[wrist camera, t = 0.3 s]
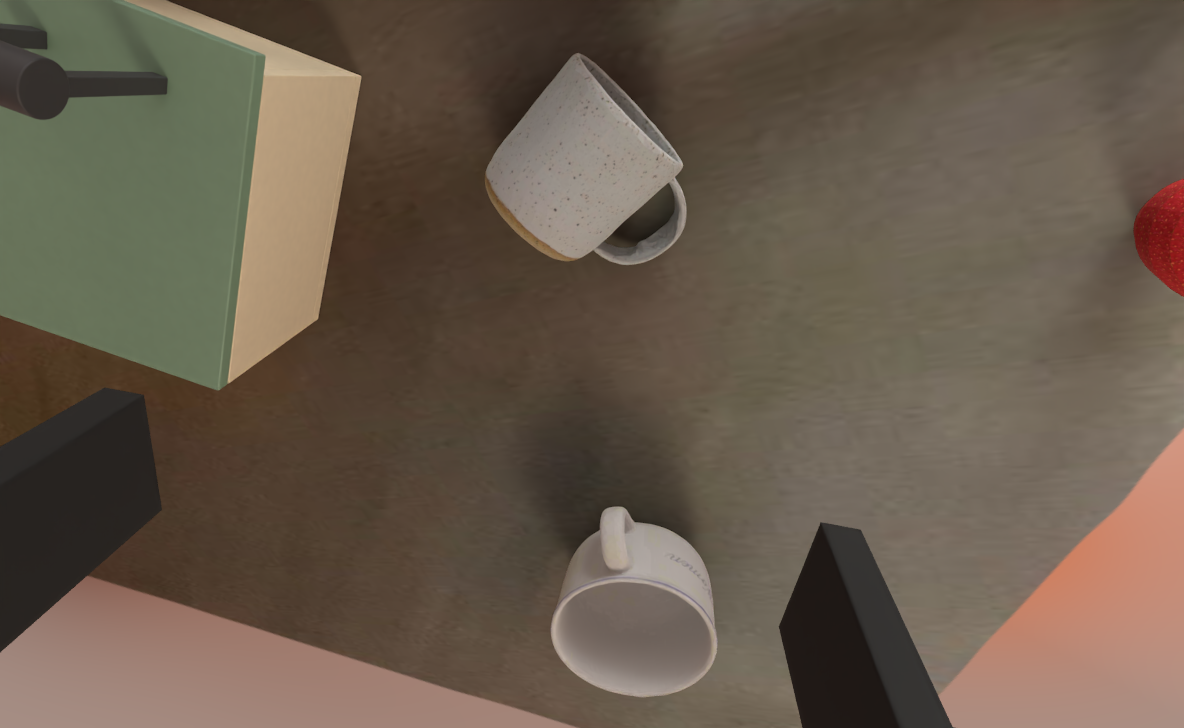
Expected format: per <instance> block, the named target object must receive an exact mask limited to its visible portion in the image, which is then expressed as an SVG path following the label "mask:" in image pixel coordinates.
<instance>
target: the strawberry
mask: <svg viewBox="0 0 1184 728" xmlns="http://www.w3.org/2000/svg"><path fill="white" fill-rule="evenodd" d="M1133 231H1134V238H1135V244H1136V249H1137V251H1138V254H1139V257H1140V259H1141V260H1142V262H1143V263H1144V264H1145V266H1146V267H1147V268H1148V269H1149V270H1150V271H1151V272H1152V273H1153V274H1154V275H1156V276H1157V277H1158V278H1159V279H1160V280H1161V281H1162V282H1163V283H1165V284H1166V285H1167V286H1168V287H1169V288H1170V289H1171V290H1173V291H1175V292H1176V293H1178V294H1180V295H1181V296H1183V297H1184V179H1182V180H1179V181H1176V182H1174V183H1172V184H1170V185H1168V186H1167V187H1165V188H1163V189H1162V190H1160V191H1159V192H1158V193H1157V194H1156V195H1154V196H1153V197H1152V198H1151V199H1150V200H1149V201H1148V202H1147V203H1146V204H1145V205H1144V206H1143V207H1142V208H1141V210H1140V211H1139V213H1138V215H1137V216H1136V219H1135V222H1134V230H1133Z"/></svg>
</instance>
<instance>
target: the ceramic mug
mask: <svg viewBox="0 0 1184 728" xmlns="http://www.w3.org/2000/svg"><path fill="white" fill-rule="evenodd" d="M682 168H683V163H682V161H681V159H680V158H679V156H678V155H677V153H676V152H675V150H674V149H673V148H672V146H671V145H670V143H669V142H668V141H667V140H666V139H665V137H664V136H663V135H662V133H661V132H660V131H659V130H658V129H657V127H656V126H655V125H654V124H653V123H652V122H651V121H650V120H649V119H648V118H647V116H646V115H645V114H644V113H643V111H642V110H641V109H640V108H639V107H638V106H637V105H636V104H635V103H634V102H633V101H632V99H631V98H630V97H629V96H628V95H627V94H626V93H625V91H623V90H622V89H621V88H620V87H619V86H618V85H617V84H616V83H615V82H614V81H613V80H612V79H611V78H610V77H609V76H608V75H607V74H606V73H605V72H604V71H603V70H602V69H600V68H599V67H598V66H597V65H596V64H595V63H594V62H592V61H591V60H590V59H589V58H588V57H585V56H584V55H582V54H579V53H576V54H574V55H573V56H571V58H570V59H569V60H568V61H567V63H566V64H565V65H564V66H563V68H562V69H561V70H560V72H559V73H558V74H557V75H556V77H555V78H554V79H553V80H552V82H551V83H550V84H549V85H548V86H547V87H546V89H545V90H544V91H543V92H542V94H541V95H540V96H539V97H538V99H537V100H536V101H535V102H534V104H533V105H532V106H531V108H530V109H529V110H528V112H527V113H526V114H525V115H524V117H523V118H522V119H521V121H520V122H519V123H518V124H517V126H516V127H515V128H514V129H513V130H512V131H511V133H510V134H509V135H508V136H507V137H506V139H505V140H504V141H503V142H502V144H501V145H500V146H499V148H498V149H497V151H496V152H495V154H494V156H493V158H492V160H491V161H490V163H489V165H488V167H487V170H486V172H485V186H486V189H487V192H488V195H489V198H490V200H491V202H492V203H493V205H494V206H495V208H496V209H497V211H498V212H499V214H500V215H501V216H502V217H503V219H504V220H505V221H506V222H507V223H508V224H509V225H510V226H511V228H512V229H513V230H514V231H515V232H516V233H517V234H519V235H520V236H521V237H522V238H523V239H525V240H526V241H527V242H528V243H529V244H531V245H532V246H534V247H535V248H536V249H538V250H539V251H540V252H542V253H544V254H546V255H548V256H550V257H552V258H554V259H557V260H562V261H574V260H577V259H579V258H581V257H583V256H585V255H586V254H588V253H589V252H591V251H592V250H594V251H595V252H596V253H597V254H599V255H600V256H601V257H603V258H605V259H607V260H609V261H611V262H615V263H618V264H623V265H631V264H639V263H643V262H647V261H649V260H651V259H653V258H655V257H657V256H659V255H660V254H662V253H663V252H664V251H666V250H667V249H668V248H669V247H671V246H672V245H673V244H674V243H675V242H676V240H677V239H678V238H679V237H680V235H681V233H682V231H683V229H684V226H685V222H686V213H687V211H686V201H685V197H684V194H683V191H682V189H681V187H680V185H679V184H678V182H677V180H676V178H675V176H676V175H677V174H678V173H679V172H680V171H681V169H682ZM667 183H669V184H670V186H671V188H672V190H673V194H674V197H675V209H674V212H673V215H672V216H671V217H670V219H669V221H668V222H667V223H666V224H665V225H664V226H662V227H661V228H660V229H659V230H657V231H656V232H655V233H654V234H652V235H651V236H650V237H648V238H647V239H645V240H642V241H640V242H639V243H638V245H637V246H634V247H629V248H622V247H615V246H613V245H611V244H607V243H605V242H604V240H605V239H607V238H608V237H609V236H610V235H611V234H612V233H613V232H614V231H615V230H616V229H617V228H618V227H619V226H620V225H621V224H622V223H623V222H624V221H625V220H626V219H628V218H629V217H630V216H631V215H632V214H633V213H635V212H636V211H637V210H638V209H639V208H640V207H641V206H643V205H644V204H645V203H646V202H647V201H648V200H649V199H650V198H651V197H653V196H654V195H655V194H656V193H657V192H658V191H659V190H660V189H661V188H663V187H664V186H665V185H666V184H667Z"/></svg>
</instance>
